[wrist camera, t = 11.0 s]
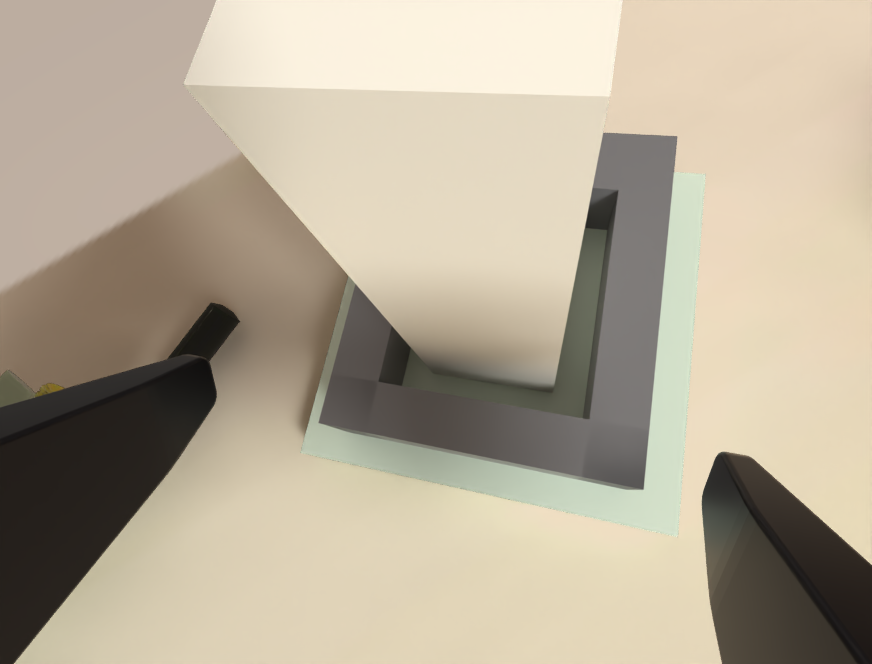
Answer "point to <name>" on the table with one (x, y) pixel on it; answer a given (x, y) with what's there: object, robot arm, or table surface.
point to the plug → (429, 155)
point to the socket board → (576, 375)
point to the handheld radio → (197, 342)
